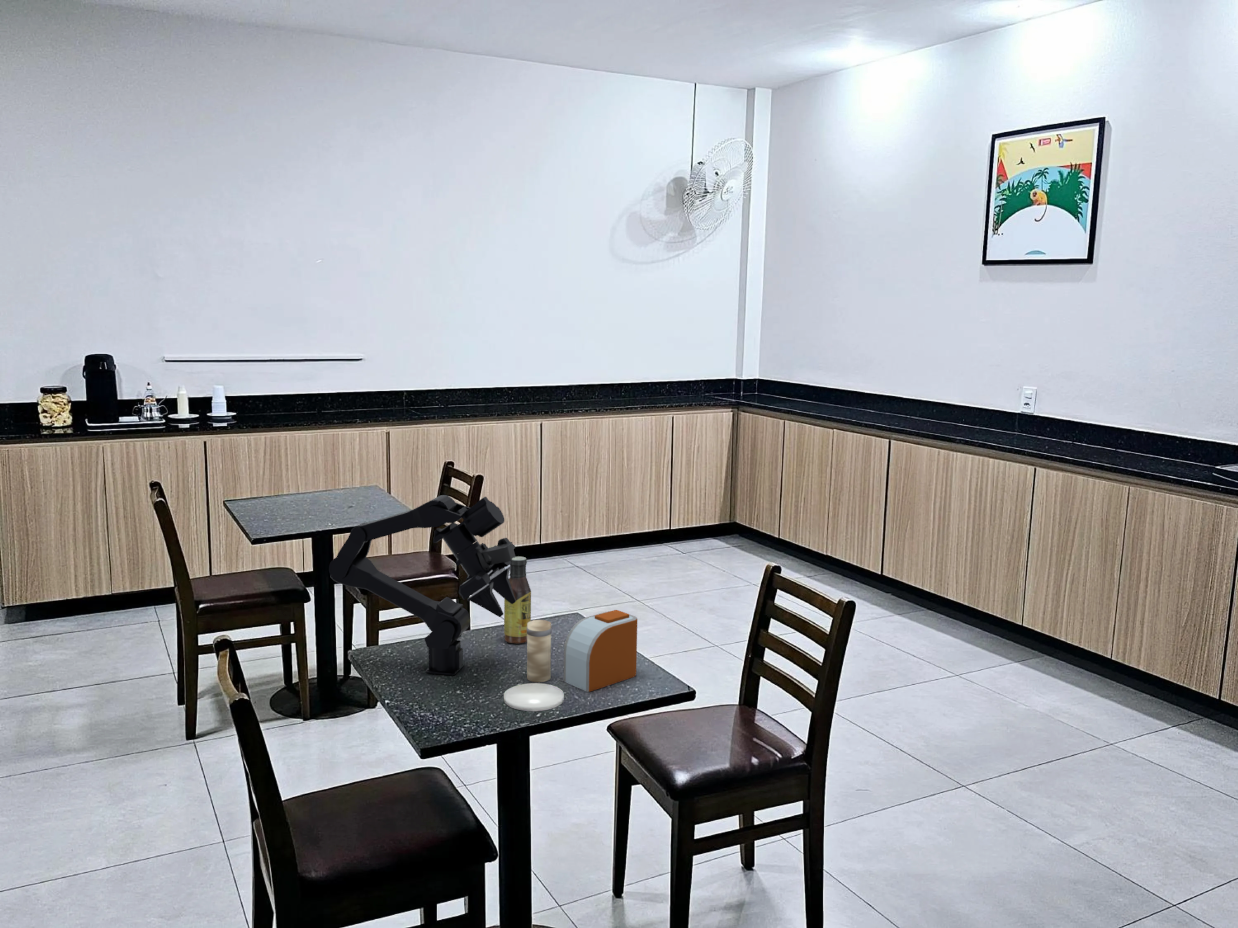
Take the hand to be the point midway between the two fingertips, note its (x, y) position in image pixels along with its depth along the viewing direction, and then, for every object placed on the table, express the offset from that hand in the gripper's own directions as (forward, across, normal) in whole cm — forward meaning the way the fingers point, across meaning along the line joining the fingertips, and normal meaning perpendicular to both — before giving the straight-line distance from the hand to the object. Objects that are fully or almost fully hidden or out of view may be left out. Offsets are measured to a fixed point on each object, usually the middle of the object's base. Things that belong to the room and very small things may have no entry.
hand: (508, 609), depth 212 cm
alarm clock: (+24, +3, -7) cm, 25 cm away
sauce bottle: (+10, +22, +12) cm, 27 cm away
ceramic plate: (+17, -12, +2) cm, 21 cm away
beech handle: (+16, 0, +3) cm, 16 cm away
